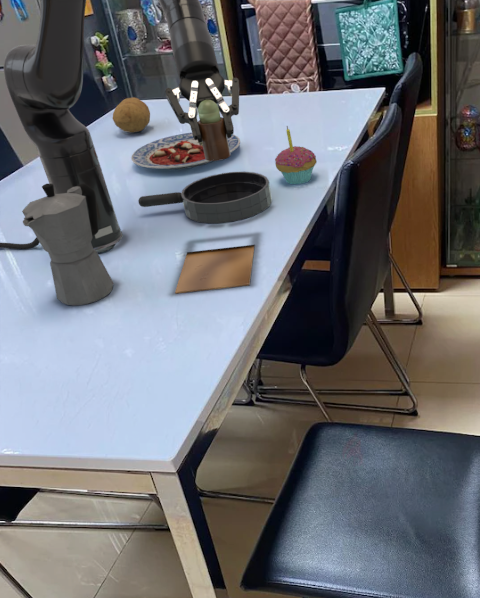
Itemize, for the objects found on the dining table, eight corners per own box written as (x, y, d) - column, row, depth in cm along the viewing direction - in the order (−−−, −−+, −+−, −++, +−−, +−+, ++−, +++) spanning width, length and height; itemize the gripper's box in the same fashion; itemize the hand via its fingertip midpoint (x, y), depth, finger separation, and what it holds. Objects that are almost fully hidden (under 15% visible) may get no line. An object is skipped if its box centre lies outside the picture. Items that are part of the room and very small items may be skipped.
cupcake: (313, 190, 144) (305, 128, 136) (273, 191, 145) (263, 130, 138) (322, 175, 150) (315, 115, 142) (284, 176, 152) (275, 117, 144)
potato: (154, 121, 197) (147, 90, 192) (153, 135, 187) (144, 103, 182) (119, 126, 197) (110, 96, 192) (116, 141, 186) (106, 109, 181)
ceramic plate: (168, 185, 155) (164, 171, 153) (115, 163, 171) (111, 150, 169) (262, 151, 167) (260, 138, 165) (205, 134, 183) (202, 122, 181)
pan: (181, 231, 133) (175, 208, 130) (192, 198, 146) (187, 177, 144) (270, 221, 133) (266, 198, 130) (273, 189, 146) (270, 167, 143)
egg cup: (203, 162, 131) (191, 104, 125) (206, 154, 135) (194, 98, 129) (229, 159, 131) (218, 101, 125) (231, 151, 135) (220, 95, 129)
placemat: (175, 293, 113) (175, 292, 113) (190, 242, 129) (190, 240, 129) (249, 285, 113) (249, 283, 113) (256, 234, 129) (255, 233, 128)
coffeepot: (84, 315, 110) (41, 202, 99) (37, 309, 114) (-9, 199, 102) (140, 271, 121) (108, 164, 110) (96, 266, 124) (60, 162, 113)
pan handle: (139, 209, 138) (136, 199, 136) (141, 205, 139) (138, 195, 138) (184, 203, 137) (182, 193, 136) (186, 200, 139) (183, 190, 138)
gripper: (152, 45, 126) (173, 133, 125) (231, 33, 128) (253, 119, 127) (158, 72, 134) (178, 155, 132) (232, 60, 136) (253, 142, 134)
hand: (214, 137), depth 129 cm, fingers closed on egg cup, 4 cm apart
